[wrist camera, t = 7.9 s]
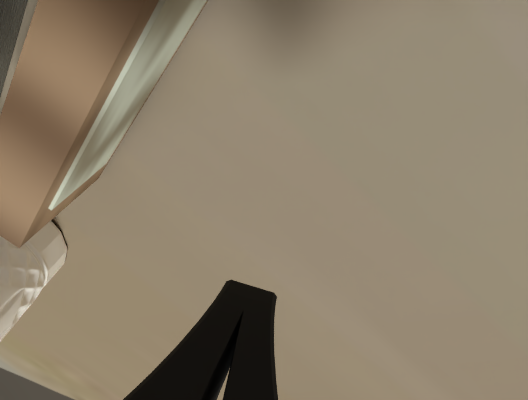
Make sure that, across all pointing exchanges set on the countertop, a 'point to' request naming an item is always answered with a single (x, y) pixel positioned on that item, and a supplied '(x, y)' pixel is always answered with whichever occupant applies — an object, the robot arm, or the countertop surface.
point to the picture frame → (78, 98)
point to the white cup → (27, 272)
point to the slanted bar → (9, 32)
